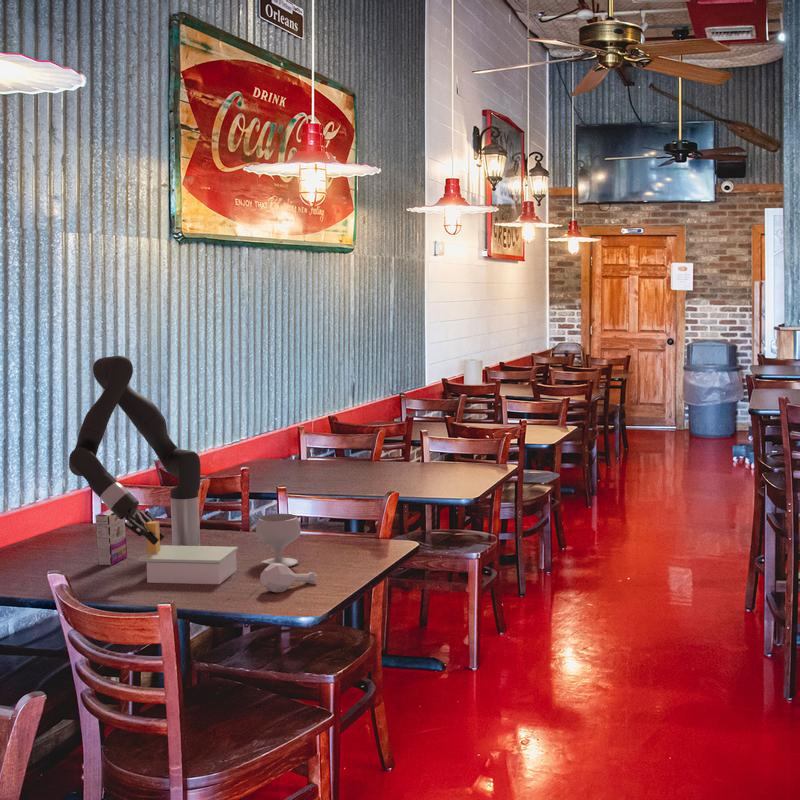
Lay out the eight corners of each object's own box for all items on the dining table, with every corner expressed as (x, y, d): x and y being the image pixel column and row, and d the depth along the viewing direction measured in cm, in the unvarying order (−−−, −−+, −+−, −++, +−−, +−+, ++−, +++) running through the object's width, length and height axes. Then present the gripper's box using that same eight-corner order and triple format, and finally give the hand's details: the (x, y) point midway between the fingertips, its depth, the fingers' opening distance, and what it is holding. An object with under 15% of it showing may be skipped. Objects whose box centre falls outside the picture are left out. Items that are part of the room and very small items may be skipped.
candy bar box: (113, 557, 339) (111, 507, 337) (127, 557, 338) (125, 507, 336) (96, 565, 328) (94, 514, 326) (111, 566, 327) (109, 514, 325)
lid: (159, 547, 318) (158, 516, 318) (238, 549, 315) (237, 517, 314) (137, 561, 302) (136, 528, 301) (219, 563, 298) (218, 529, 297)
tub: (167, 571, 318) (167, 549, 318) (236, 573, 315) (236, 550, 314) (147, 585, 302) (146, 562, 302) (219, 587, 299) (218, 563, 298)
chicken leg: (324, 588, 299) (321, 560, 302) (275, 588, 287) (271, 559, 290) (307, 595, 305) (303, 567, 307) (257, 595, 292) (254, 566, 295)
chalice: (304, 568, 320) (302, 520, 318) (258, 571, 317) (257, 523, 315) (298, 557, 333) (297, 511, 332) (255, 560, 330) (253, 514, 329)
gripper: (117, 496, 302) (158, 537, 302) (137, 487, 316) (176, 527, 316) (101, 513, 304) (142, 555, 303) (121, 504, 318) (160, 544, 317)
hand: (159, 540), depth 309 cm, fingers open, 4 cm apart
